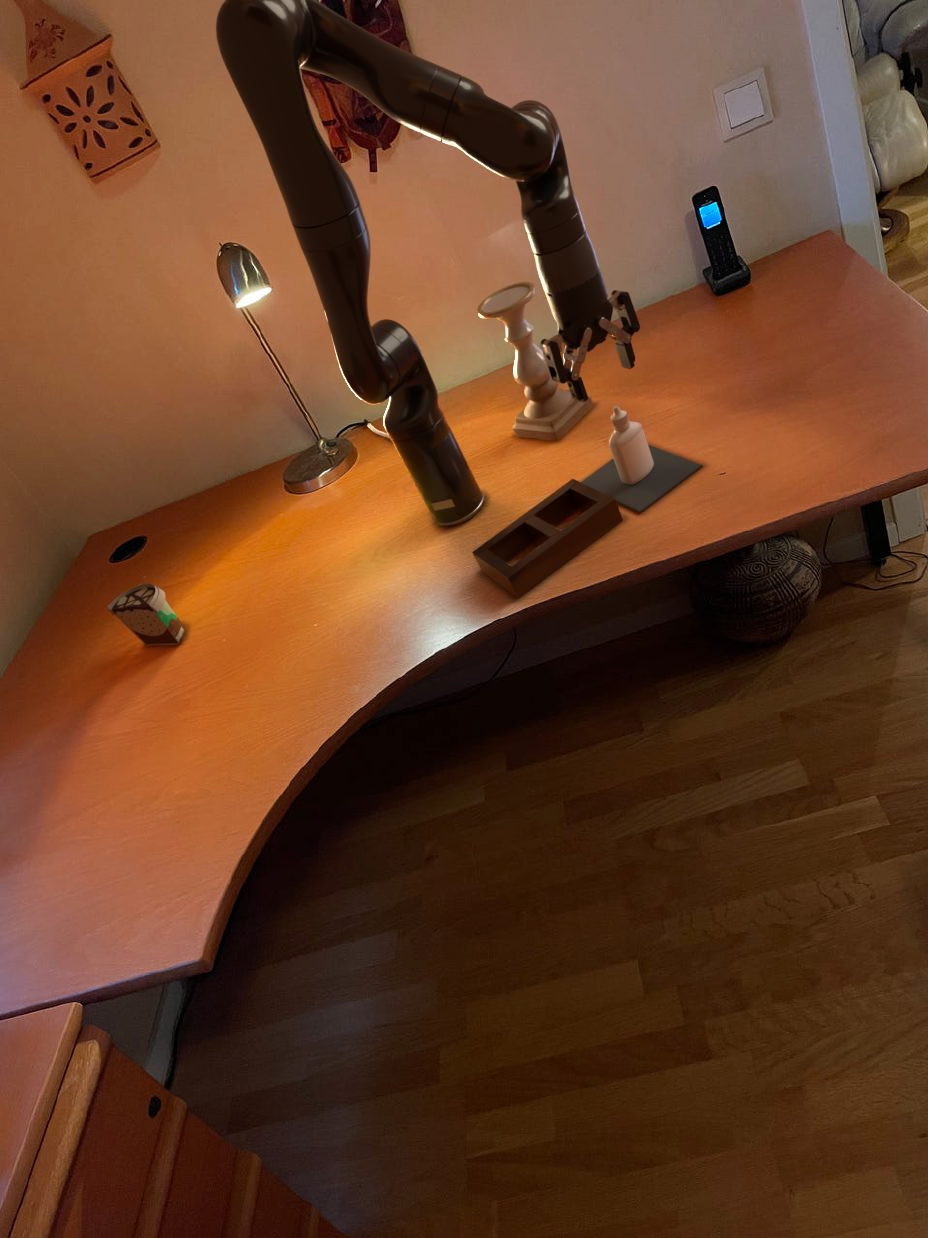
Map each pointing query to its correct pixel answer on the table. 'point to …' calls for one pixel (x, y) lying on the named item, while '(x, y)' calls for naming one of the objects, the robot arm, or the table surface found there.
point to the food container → (148, 615)
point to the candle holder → (532, 369)
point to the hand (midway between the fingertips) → (605, 383)
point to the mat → (643, 480)
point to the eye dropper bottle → (629, 448)
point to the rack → (547, 536)
